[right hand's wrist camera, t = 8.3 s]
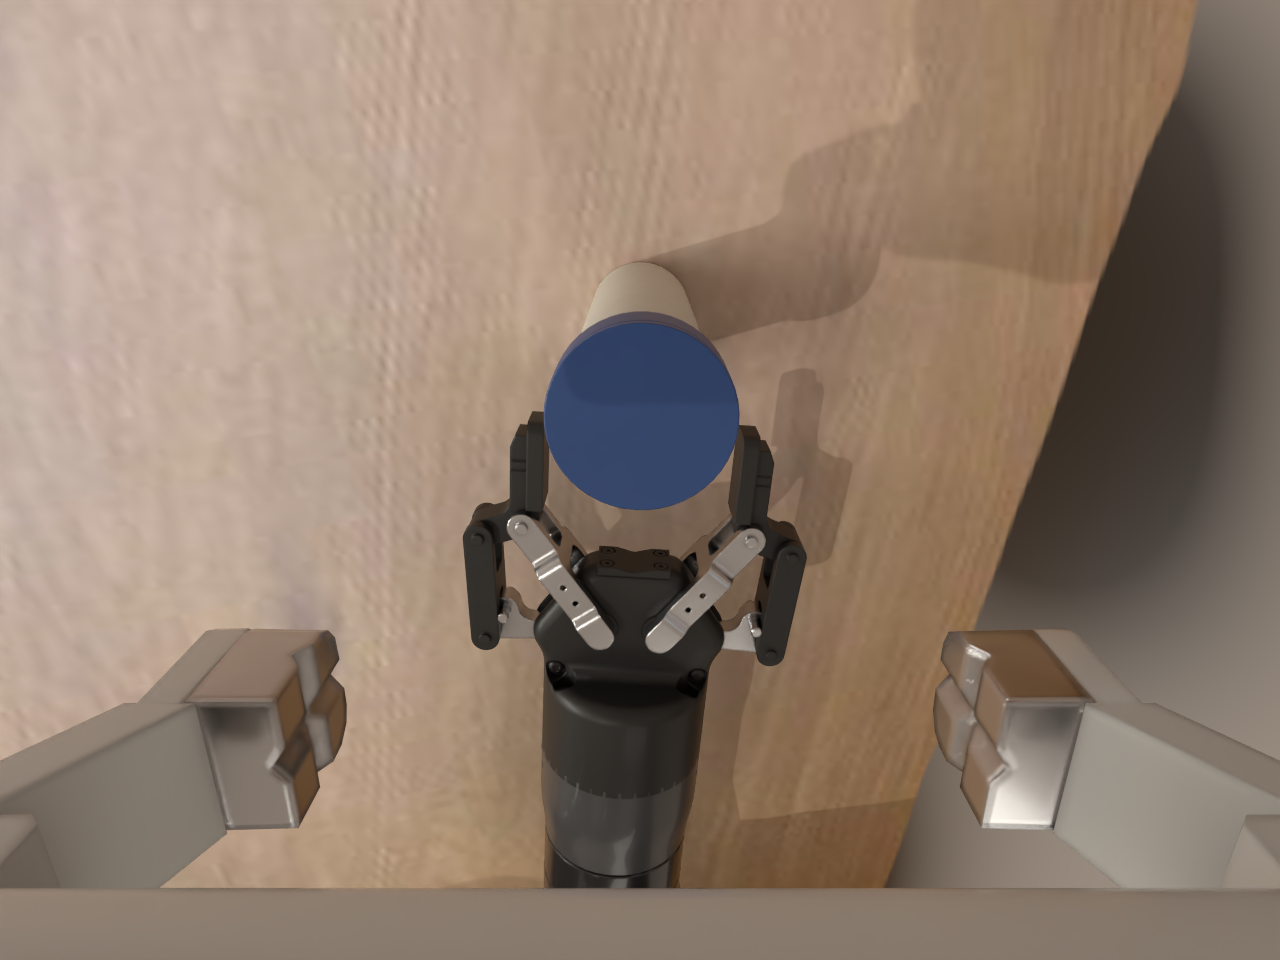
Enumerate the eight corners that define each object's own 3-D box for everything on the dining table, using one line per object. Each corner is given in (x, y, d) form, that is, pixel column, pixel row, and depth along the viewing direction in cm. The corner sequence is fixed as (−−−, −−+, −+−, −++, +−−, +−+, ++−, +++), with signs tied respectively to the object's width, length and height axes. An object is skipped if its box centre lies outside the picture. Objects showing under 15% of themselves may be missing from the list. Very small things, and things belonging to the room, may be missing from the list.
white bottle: (686, 258, 36) (722, 326, 20) (691, 356, 37) (727, 487, 22) (587, 265, 36) (548, 339, 20) (596, 363, 37) (567, 498, 22)
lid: (729, 303, 21) (736, 315, 20) (734, 480, 23) (742, 504, 22) (540, 317, 22) (531, 330, 20) (561, 491, 23) (555, 516, 22)
